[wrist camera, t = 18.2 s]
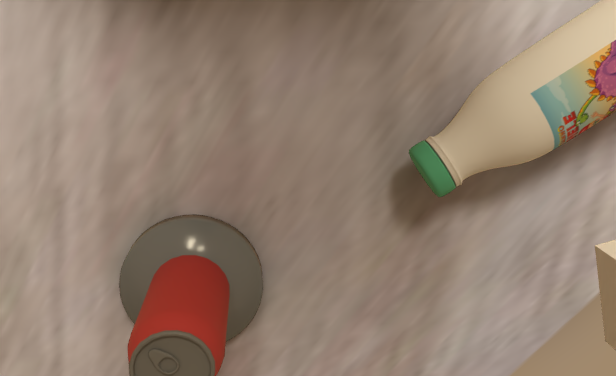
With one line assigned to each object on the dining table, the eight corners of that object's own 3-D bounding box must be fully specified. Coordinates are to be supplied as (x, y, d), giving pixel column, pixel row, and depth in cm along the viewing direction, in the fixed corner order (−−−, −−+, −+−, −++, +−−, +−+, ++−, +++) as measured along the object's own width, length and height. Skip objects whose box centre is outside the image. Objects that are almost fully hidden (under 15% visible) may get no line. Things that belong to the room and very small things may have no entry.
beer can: (189, 236, 48) (168, 305, 36) (246, 286, 50) (244, 367, 38) (135, 288, 49) (98, 372, 37) (193, 336, 50) (175, 430, 39)
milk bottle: (608, 33, 49) (408, 162, 51) (615, -33, 43) (386, 117, 45) (676, 91, 45) (456, 229, 47) (696, 28, 39) (440, 191, 41)
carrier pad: (102, 312, 51) (98, 320, 49) (154, 192, 48) (151, 198, 47) (229, 358, 53) (228, 367, 52) (284, 246, 51) (285, 253, 49)
